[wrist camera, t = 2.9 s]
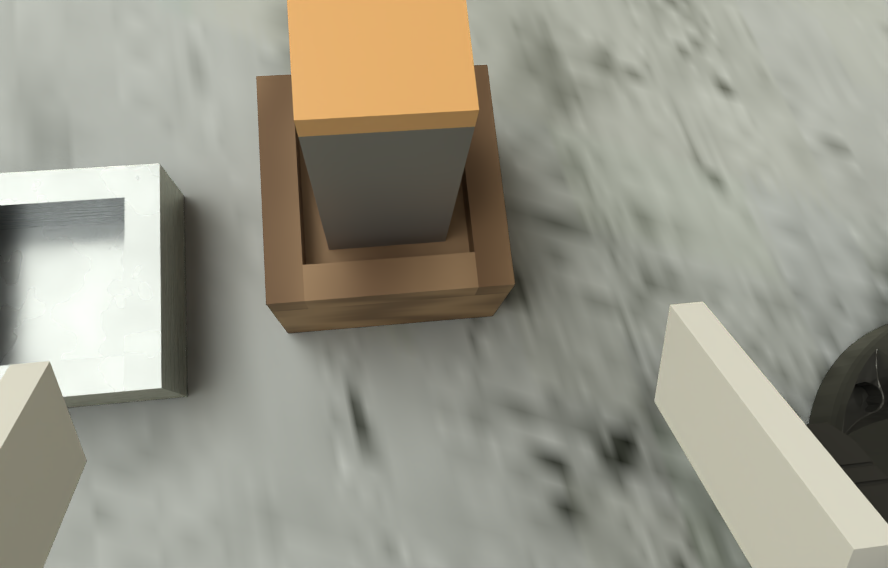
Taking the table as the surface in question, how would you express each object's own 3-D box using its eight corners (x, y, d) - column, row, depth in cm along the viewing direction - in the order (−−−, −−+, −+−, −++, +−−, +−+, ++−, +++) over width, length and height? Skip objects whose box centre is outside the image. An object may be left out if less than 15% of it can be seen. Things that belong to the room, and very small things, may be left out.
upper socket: (470, 130, 38) (487, 64, 32) (492, 316, 36) (515, 284, 30) (278, 142, 37) (256, 76, 31) (287, 333, 35) (266, 304, 29)
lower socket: (184, 195, 36) (159, 163, 32) (186, 396, 34) (161, 387, 30) (-28, 209, 35) (-79, 177, 31) (-39, 417, 33) (-96, 410, 29)
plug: (434, 135, 33) (459, -48, 21) (445, 241, 31) (479, 110, 20) (322, 142, 32) (285, -42, 20) (329, 250, 31) (293, 120, 19)
